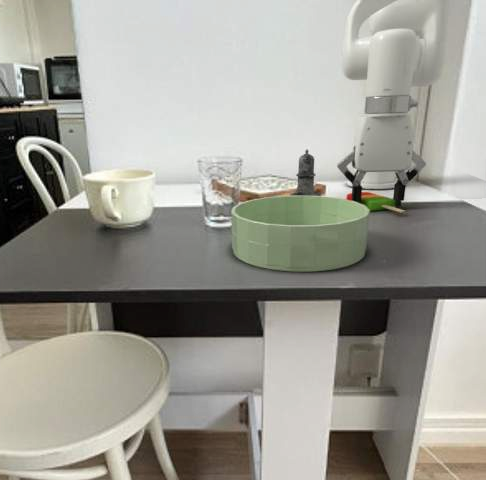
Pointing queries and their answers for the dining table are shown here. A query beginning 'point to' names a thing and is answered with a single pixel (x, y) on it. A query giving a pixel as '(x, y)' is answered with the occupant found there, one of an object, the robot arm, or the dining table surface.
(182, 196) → the dining table surface
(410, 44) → the robot arm
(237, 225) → the bowl
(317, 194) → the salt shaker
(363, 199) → the popsicle
